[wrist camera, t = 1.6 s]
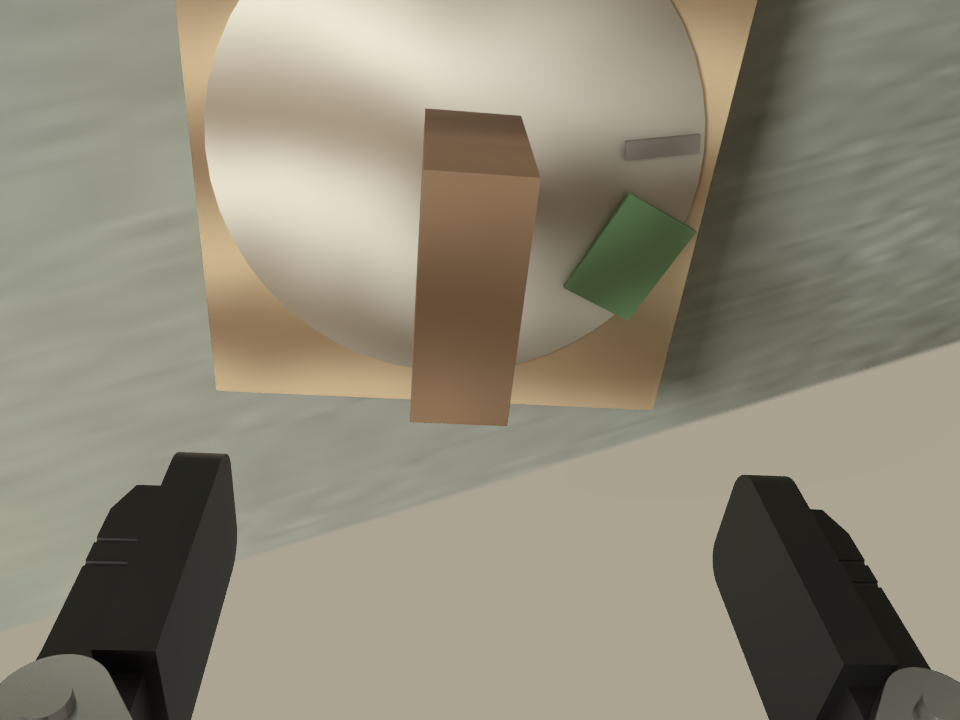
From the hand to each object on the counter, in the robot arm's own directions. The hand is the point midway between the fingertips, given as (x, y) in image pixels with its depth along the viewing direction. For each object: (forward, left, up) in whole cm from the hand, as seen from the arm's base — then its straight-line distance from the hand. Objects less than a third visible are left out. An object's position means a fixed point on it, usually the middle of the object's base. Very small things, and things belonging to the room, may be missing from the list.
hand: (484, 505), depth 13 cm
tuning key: (+2, 0, -16) cm, 16 cm away
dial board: (0, 0, -20) cm, 20 cm away
